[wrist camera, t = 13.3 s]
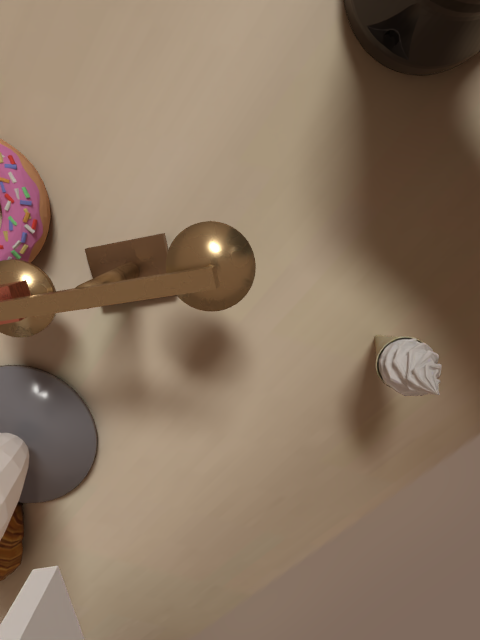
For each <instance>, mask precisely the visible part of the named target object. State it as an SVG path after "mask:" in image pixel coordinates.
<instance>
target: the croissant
mask: <svg viewBox="0 0 480 640" xmlns="http://www.w3.org/2000/svg"><path fill="white" fill-rule="evenodd" d="M23 536H24V523H23V507H22V504H21V503H20V502H18V503H17V506H16V508H15V510H14V512H13V515H12V517H11V519H10V522H9V524H8V526H7V528H6V531H5V533H4V535H3V537H2V538H1V540H0V581H1V580H3V579H5V578H6V576H8V575H9V574H11V573H12V572H13V571H14V570H15V569H16V568H17V567H18V566H19V565H20V564H21V559H22V553H23V546H22V539H23Z"/></svg>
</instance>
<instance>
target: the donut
mask: <svg viewBox="0 0 480 640" xmlns="http://www.w3.org/2000/svg"><path fill="white" fill-rule="evenodd" d="M0 203H1V207H2V216H3V218H2V225H1V229H0V261H3V260H9V259H18V260H24V261H27V262H30V263H31V262H32V261H33V260H34V259H35V257H36V256H37V255H38V253H39V252H40V251H41V249H42V247H43V245H44V243H45V240H46V237H47V234H48V230H49V224H50V217H51V215H50V202H49V198H48V194H47V191H46V188H45V185H44V183H43V181H42V179H41V177H40V175H39V174H38V172H37V171H36V169H35V168H34V166H33V165H32V164H31V163H30V162H29V161H28V159H27V158H26V157H25V156H24V155H23V154H21V153H20V152H19V151H18V150H17V149H15V148H14V147H12V146H11V145H9V144H8V143H6V142H5V141H3V140H2V139H0Z"/></svg>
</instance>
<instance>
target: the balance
mask: <svg viewBox="0 0 480 640" xmlns="http://www.w3.org/2000/svg"><path fill="white" fill-rule="evenodd" d="M85 252H86V255H87V259H88V263H89V266H90V270H91V273H92V277H93V279H91V280H89V281H87V282H85V283H83V284H81V285H79V286H77V287H76V288H74V289H68V290H62V291H56V290H55V287H54V285H53V283H52V281H51V280H50V278H49V277H48V276H47V275H46V273H45V272H44V271H42V270H41V269H40V268H39V267H37V266H36V265H34V264H32V263H30V262H27V261H24V260H18V259H9V260H3V261H0V332H1V333H3V334H6V335H9V336H12V337H28V336H32V335H34V334H37V333H39V332H40V331H42V330H44V329H45V328H46V327H47V326H48V325H49V324H50V323H51V322H52V320H53V318H54V316H55V314H56V313H59V312H66V311H73V310H80V309H89V308H93V307H100V306H107V305H113V304H120V303H127V302H133V301H140V300H147V299H154V298H160V297H167V296H174V295H177V296H178V297H179V298H180V299H181V300H182V301H183V302H185V303H186V304H188V305H189V306H191V307H193V308H196V309H199V310H203V311H220V310H224V309H227V308H229V307H232V306H233V305H235V304H237V303H238V302H239V301H240V300H242V299H243V298H244V297H245V295H246V294H247V293H248V291H249V290H250V288H251V286H252V283H253V280H254V277H255V266H256V265H255V258H254V254H253V251H252V248H251V246H250V244H249V243H248V241H247V240H246V238H245V237H244V236H243V235H242V234H241V233H240V232H239V231H237V230H236V229H235V228H233V227H231V226H229V225H227V224H224V223H220V222H214V221H207V222H201V223H197V224H194V225H192V226H189V227H188V228H186V229H184V230H183V231H182V232H181V233H180V234H179V235H178V236H177V237H176V238H175V239H174V241H173V242H172V244H171V246H170V248H169V250H168V246H167V241H166V237H165V233H163V234H158V235H153V236H148V237H143V238H138V239H132V240H127V241H122V242H117V243H112V244H107V245H102V246H97V247H91V248H87V249H85Z"/></svg>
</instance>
